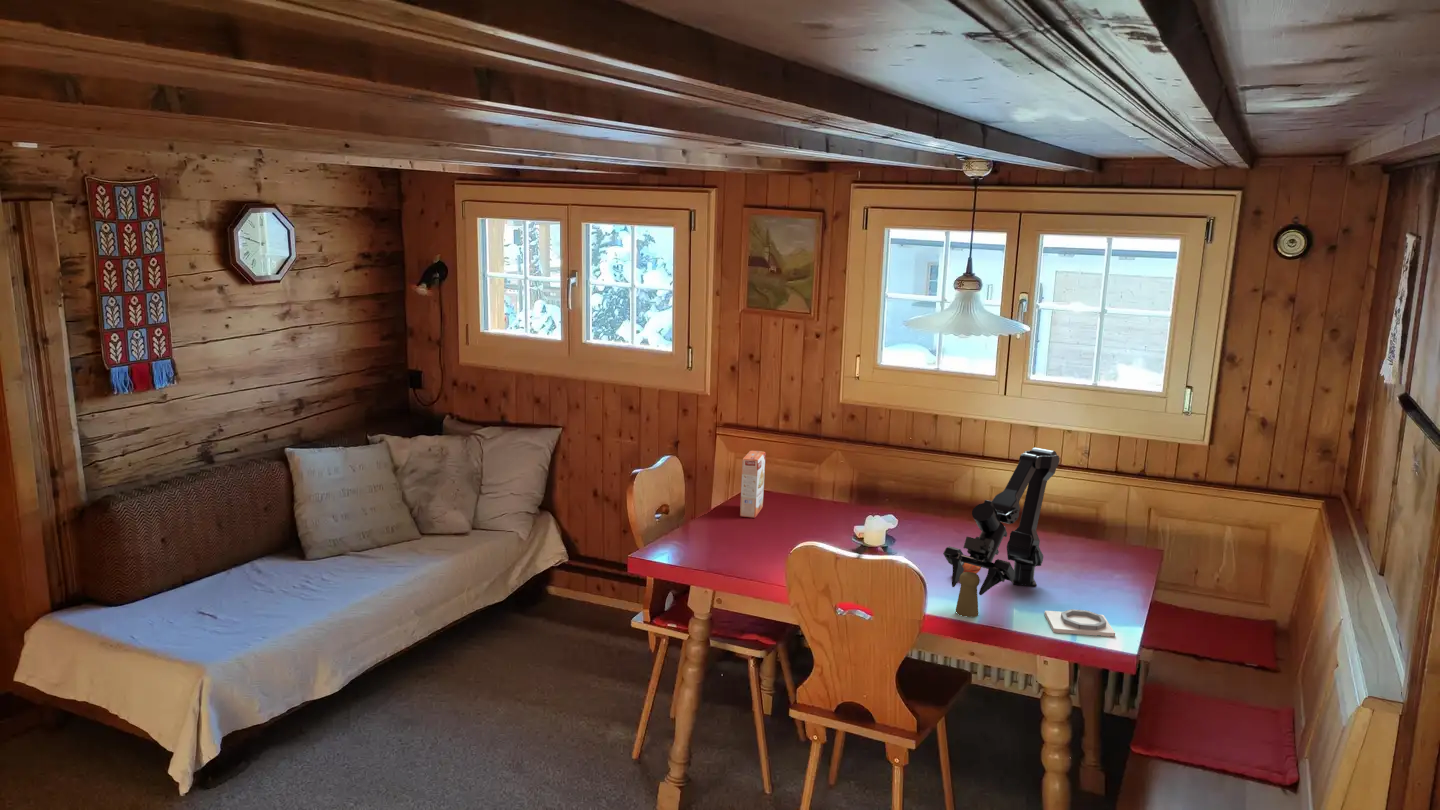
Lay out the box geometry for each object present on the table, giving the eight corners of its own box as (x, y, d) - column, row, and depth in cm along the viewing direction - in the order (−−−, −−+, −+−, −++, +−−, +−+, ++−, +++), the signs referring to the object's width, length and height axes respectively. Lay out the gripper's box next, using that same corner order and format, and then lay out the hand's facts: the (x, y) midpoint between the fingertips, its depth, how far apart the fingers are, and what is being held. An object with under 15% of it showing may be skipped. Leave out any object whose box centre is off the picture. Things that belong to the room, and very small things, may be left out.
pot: (987, 580, 286) (984, 558, 285) (962, 587, 285) (959, 566, 284) (974, 569, 294) (971, 549, 292) (950, 576, 293) (947, 556, 291)
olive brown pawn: (977, 618, 259) (980, 578, 257) (953, 614, 261) (956, 575, 259) (980, 610, 264) (983, 571, 262) (957, 606, 266) (959, 568, 264)
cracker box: (756, 518, 341) (758, 459, 337) (739, 517, 342) (741, 458, 338) (764, 507, 354) (766, 450, 351) (747, 506, 356) (749, 449, 352)
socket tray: (1044, 614, 263) (1045, 606, 262) (1103, 618, 261) (1103, 610, 261) (1053, 632, 251) (1054, 624, 251) (1114, 636, 249) (1115, 628, 249)
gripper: (949, 517, 267) (925, 565, 261) (1013, 533, 255) (990, 584, 249) (961, 539, 274) (938, 586, 268) (1024, 555, 262) (1002, 605, 256)
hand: (966, 590), depth 260 cm, fingers open, 8 cm apart
